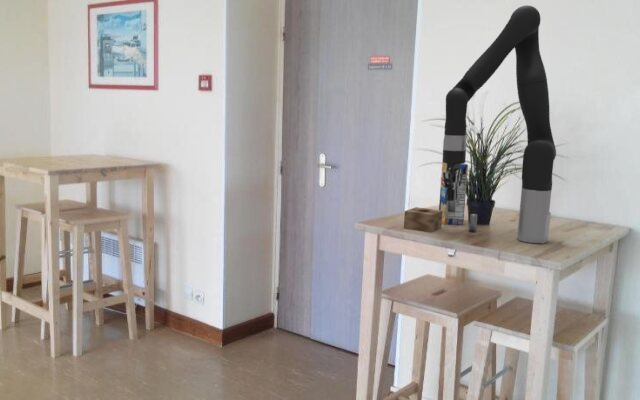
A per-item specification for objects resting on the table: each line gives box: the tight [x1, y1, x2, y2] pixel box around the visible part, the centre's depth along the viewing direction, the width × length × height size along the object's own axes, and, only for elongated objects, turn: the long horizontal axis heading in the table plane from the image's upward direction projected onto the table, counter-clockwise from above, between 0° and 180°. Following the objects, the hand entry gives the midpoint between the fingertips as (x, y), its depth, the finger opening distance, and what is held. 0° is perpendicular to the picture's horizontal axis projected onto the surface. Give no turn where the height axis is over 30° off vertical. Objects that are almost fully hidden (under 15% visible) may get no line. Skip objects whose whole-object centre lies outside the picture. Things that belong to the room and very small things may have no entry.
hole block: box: [403, 206, 443, 233], centre depth 217 cm, size 10×10×6 cm
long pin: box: [448, 179, 456, 212], centre depth 209 cm, size 2×2×11 cm
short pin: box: [468, 213, 478, 233], centre depth 214 cm, size 2×2×6 cm
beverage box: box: [438, 160, 469, 226], centre depth 228 cm, size 7×11×22 cm, turn 1°
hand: (452, 199), depth 210 cm, fingers closed on long pin, 2 cm apart
